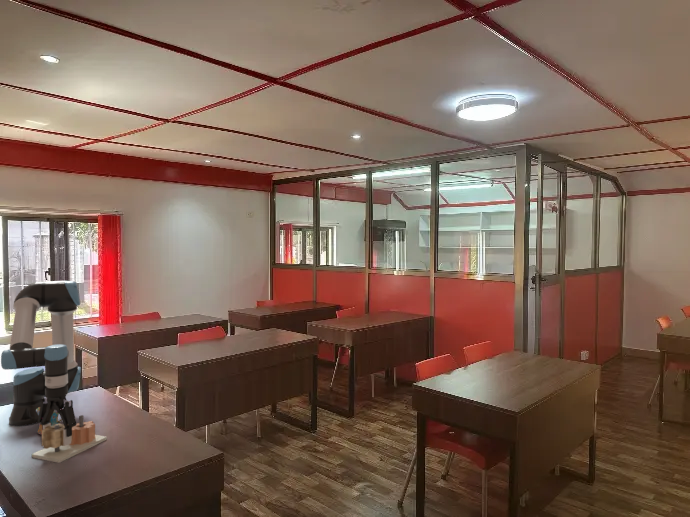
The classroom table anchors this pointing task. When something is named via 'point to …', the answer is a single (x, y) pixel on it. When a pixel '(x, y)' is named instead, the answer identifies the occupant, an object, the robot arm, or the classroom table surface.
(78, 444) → the gear board
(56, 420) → the mug
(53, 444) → the gear
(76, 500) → the classroom table surface
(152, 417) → the classroom table surface
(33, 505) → the classroom table surface
